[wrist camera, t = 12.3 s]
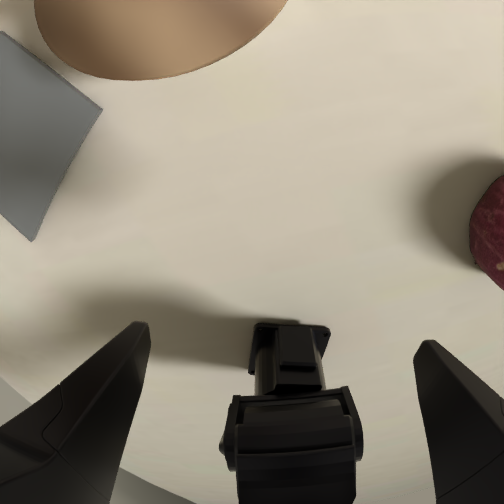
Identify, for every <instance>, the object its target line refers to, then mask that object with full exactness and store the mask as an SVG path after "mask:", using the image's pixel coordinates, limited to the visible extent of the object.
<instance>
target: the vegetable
mask: <svg viewBox="0 0 504 504" xmlns="http://www.w3.org/2000/svg"><path fill="white" fill-rule="evenodd" d="M469 232H470V249H471V253H472V254H473V257H474V259H475V260H474V261H475V262H474V263H475V264H478V265H479V266H480V268H481V269H482V270H483V271H484V272H485V273H486V274H487V275H488V276H489V277H490V278H491V279H492V280H493V281H494V282H495V283H496V284H497V285H498V286H499V287H500V288H501V289H502V290H504V175H503V176H501V177H500V178H498V179H497V180H496V181H495V182H494V183H493V184H492V185H491V186H490V187H489V189H488V190H487V192H486V193H485V194H484V195H483V197H482V198H481V199H480V201H479V203H478V204H477V206H476V208H475V210H474V212H473V214H472V218H471V219H470V231H469Z"/></svg>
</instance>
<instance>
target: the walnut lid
mask: <svg viewBox="0 0 504 504" xmlns="http://www.w3.org/2000/svg"><path fill="white" fill-rule="evenodd" d="M286 2H287V0H34V7H35V16H36V20H37V24H38V28H39V30H40V32H41V34H42V37H43V39H44V41H45V42H46V43H47V45H48V46H49V48H50V49H51V50H52V51H53V52H54V53H55V54H56V55H57V56H58V57H59V58H60V59H61V60H62V61H64V62H65V63H66V64H68V65H69V66H71V67H73V68H75V69H77V70H79V71H81V72H83V73H86V74H89V75H92V76H95V77H99V78H105V79H111V80H129V81H135V80H154V79H162V78H168V77H174V76H178V75H181V74H185V73H189V72H192V71H195V70H198V69H200V68H203V67H206V66H208V65H211V64H213V63H215V62H217V61H219V60H221V59H223V58H225V57H227V56H229V55H230V54H232V53H233V52H235V51H237V50H238V49H240V48H242V47H243V46H245V45H246V44H247V43H248V42H250V41H251V40H252V39H254V38H255V37H256V36H258V35H259V34H260V33H261V32H262V31H263V30H264V29H265V28H266V27H267V26H268V25H269V24H270V23H271V22H272V21H273V20H274V18H275V17H276V16H277V15H278V14H279V12H280V11H281V10H282V9H283V7H284V5H285V4H286Z"/></svg>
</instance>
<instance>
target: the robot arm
mask: <svg viewBox="0 0 504 504" xmlns="http://www.w3.org/2000/svg"><path fill="white" fill-rule="evenodd" d="M259 329H262V330H259ZM323 333H325V334H323ZM330 336H331V332H330V329H329V328H325V327H307V326H291V325H277V324H265V323H258V324H256V325H255V327H254V333H253V339H252V346H251V353H250V359H249V366H248V373H249V374H250V375H255V396H241V395H233V399H232V403H230V406H229V408H228V416H227V421H226V426H225V431H224V433H223V436H222V438H221V441H220V443H219V451H220V452H221V453H222V454H223V455H224V456H225V459H226V461H227V466H228V469H229V471H236V480H237V494H238V499H239V504H352V503H353V501H354V499H355V497H356V462H357V461H360V460H361V459H362V456H363V447H364V446H363V431H362V425H361V421H360V418H359V415H358V412H357V409H356V407H355V404H354V401H353V398H352V396H351V393H350V390H349V388H348V386H343V387H341V388H336V389H328V390H326V385H325V379H324V373H323V367H322V361H321V360H322V357H323V355H324V352H325V349H326V347H327V344H328V341H329V338H330ZM150 348H151V339H150V332H149V326H148V323H146V322H142V321H134V322H132V323H131V324H130V325H129V326H127V327H126V328H125V329H124V330H123V331H121V332H120V333H119V334H118V335H117V336H115V337H114V338H113V339H112V340H110V341H109V342H108V343H107V344H106V345H104V346H103V347H102V348H101V349H100V350H98V351H97V352H96V353H95V354H94V355H92V356H91V357H90V358H89V359H88V360H86V361H85V362H84V363H83V364H82V365H80V366H79V367H78V368H77V369H76V370H75V371H73V372H72V373H71V374H70V375H69V376H67V377H66V378H65V379H64V380H63V381H61V382H60V385H59V384H58V385H57V386H55V387H54V388H53V389H52V390H51V391H50V392H48V393H47V394H46V395H45V396H43V397H42V398H41V399H40V400H38V401H37V402H36V403H34V404H33V405H32V406H30V407H29V408H27V409H26V410H24V411H23V412H21V413H20V414H19V415H17V416H15V417H14V418H12V419H11V420H9V421H8V422H7V423H5V424H4V425H2V426H1V427H0V504H109V503H110V502H109V501H110V498H111V495H112V491H113V487H114V483H115V480H116V476H117V472H118V468H119V465H120V461H121V458H122V454H123V451H124V447H125V444H126V441H127V437H128V434H129V431H130V427H131V424H132V421H133V417H134V414H135V411H136V408H137V405H138V401H139V398H140V395H141V392H142V388H143V383H144V378H145V373H146V368H147V363H148V358H149V353H150ZM413 364H414V371H415V378H416V385H417V392H418V399H419V404H420V409H421V413H422V418H423V423H424V427H425V432H426V438H427V443H428V448H429V454H430V460H431V466H432V473H433V480H434V487H435V495H436V504H504V399H503V398H502V397H500V396H499V395H498V394H497V393H496V392H495V391H494V390H493V389H491V388H490V387H489V386H488V385H487V384H486V383H485V382H483V381H482V380H481V379H480V378H479V377H478V376H477V375H475V374H474V373H473V372H472V371H471V370H470V369H469V368H467V367H466V366H465V365H464V364H463V363H462V362H460V361H459V360H458V359H457V358H456V357H454V356H453V355H452V354H451V353H450V352H449V351H447V350H446V349H445V348H444V347H443V346H441V345H440V344H439V343H438V342H437V341H435V340H424V341H423V342H422V343H421V345H420V347H419V349H418V350H417V352H416V354H415V356H414V359H413Z"/></svg>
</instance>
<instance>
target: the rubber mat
mask: <svg viewBox="0 0 504 504" xmlns="http://www.w3.org/2000/svg"><path fill="white" fill-rule="evenodd" d="M102 111H103V109H102V108H100V107H99V106H98V105H97V104H95V103H94V102H93V101H92V100H90V99H89V98H88V97H87V96H85V95H84V94H83V93H82V92H80V91H79V90H78V89H76V88H75V87H74V86H73V85H71V84H70V83H69V82H68V81H66V80H65V79H64V78H63V77H61V76H60V75H59V74H57V73H56V72H55V71H54V70H52V69H51V68H50V67H49V66H47V65H46V64H45V63H43V62H42V61H41V60H40V59H38V58H37V57H36V56H34V55H33V54H32V53H31V52H29V51H28V50H27V49H25V48H24V47H23V46H21V45H20V44H19V43H18V42H16V41H15V40H14V39H12V38H11V37H10V36H8V35H7V34H6V33H4V32H3V31H0V214H1V215H2V216H3V217H4V218H5V219H6V220H8V221H9V222H10V223H11V224H12V225H13V226H14V227H15V228H16V229H17V230H18V231H19V232H20V233H21V234H23V235H24V236H25V237H26V238H27V239H28V240H29V241H30V242H32V241H33V240H34V239H35V238H36V235H37V233H38V230H39V228H40V226H41V223H42V221H43V219H44V216H45V214H46V212H47V210H48V208H49V205H50V203H51V201H52V199H53V197H54V195H55V193H56V191H57V189H58V187H59V185H60V183H61V181H62V179H63V177H64V175H65V173H66V171H67V169H68V167H69V166H70V164H71V162H72V160H73V158H74V156H75V155H76V153H77V151H78V149H79V148H80V146H81V144H82V143H83V141H84V139H85V137H86V136H87V134H88V133H89V131H90V129H91V128H92V126H93V124H94V123H95V121H96V120H97V118H98V117H99V115H100V114H101V112H102Z"/></svg>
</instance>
